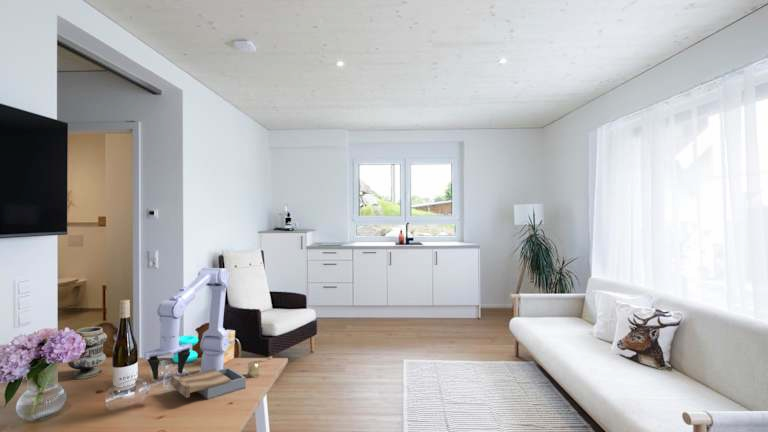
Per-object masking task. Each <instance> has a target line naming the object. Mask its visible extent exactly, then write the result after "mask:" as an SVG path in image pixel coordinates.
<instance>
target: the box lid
mask: <svg viewBox="0 0 768 432" xmlns="http://www.w3.org/2000/svg"><path fill="white" fill-rule="evenodd" d="M170 377H171V379H170V386H172V387H173V389H175V390H176V391H178V393H180V394H181V395H182V396H183V397H184V398H186V399H187V398H190V395H191V393H195V392H197V391H199V390H202V389H206V388H209V387H213V386H216V385H220V384H223V383H227V382H230V381H231V379H229V378H228V377H226V376H225V375H223V374H222V373H220V372H218V371H217V370H215V369H212V370H208V371H204V372H200V373H198V372H197V373H193V374H189V375H184V376H180V377H179V376H177V375H176V374H172V375H171V376H170Z"/></svg>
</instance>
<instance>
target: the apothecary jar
mask: <svg viewBox="0 0 768 432" xmlns="http://www.w3.org/2000/svg"><path fill="white" fill-rule="evenodd" d="M76 332H77V333H78V334H80V335H81V336H82V337H83V339H84V340H85V341H86V349H85V352H84V353H83V354H82V356H81V357H80V358H79V359H78V360H76V361H73V362H68V361H67V365H68V367H70V368H72V369H74V370H77V371H75V372H73V373H72V374H71V375H70V378H71V379H73V380H83V379H84V380H85V379H89V378H94V377H96V376H98V375H100V374H102V372H103V370H102V369H100V368H97V367H98V366H101V365H103V363H105V361H106V359H107V356H106V354H105V353H104V352H103V351H104V343H105V342H106V341H107V339H108V335H107V334H106V333H105V332H104V330H103V327H101V326H89V327H87V326H86V327H82V328H78V329H77V330H76V331H75V333H76Z"/></svg>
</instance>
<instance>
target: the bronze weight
mask: <svg viewBox="0 0 768 432" xmlns="http://www.w3.org/2000/svg"><path fill="white" fill-rule="evenodd" d="M246 375H247V378H250V379H253V378H257V377H259V376H260V362H259V361H249V362H248V363H247V374H246Z"/></svg>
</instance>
